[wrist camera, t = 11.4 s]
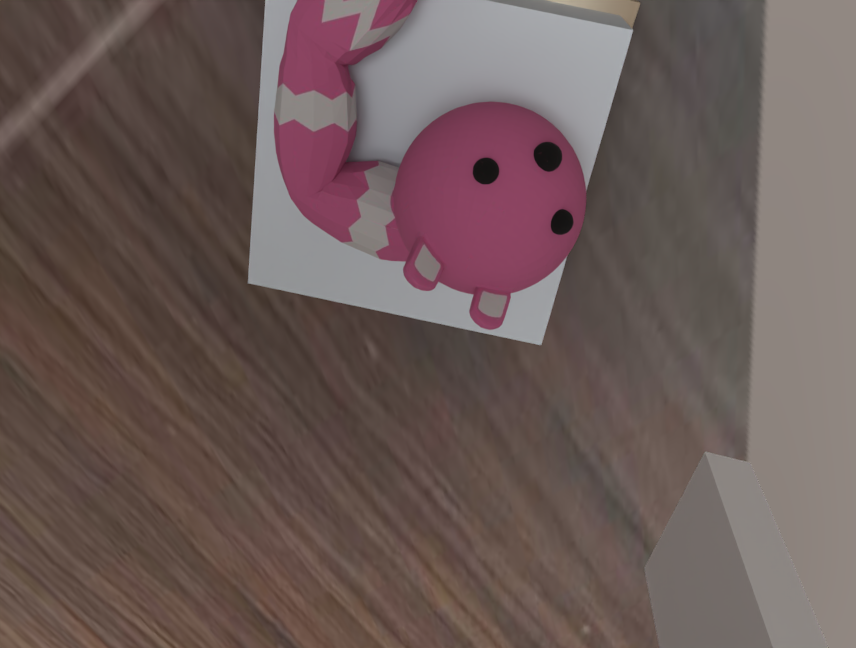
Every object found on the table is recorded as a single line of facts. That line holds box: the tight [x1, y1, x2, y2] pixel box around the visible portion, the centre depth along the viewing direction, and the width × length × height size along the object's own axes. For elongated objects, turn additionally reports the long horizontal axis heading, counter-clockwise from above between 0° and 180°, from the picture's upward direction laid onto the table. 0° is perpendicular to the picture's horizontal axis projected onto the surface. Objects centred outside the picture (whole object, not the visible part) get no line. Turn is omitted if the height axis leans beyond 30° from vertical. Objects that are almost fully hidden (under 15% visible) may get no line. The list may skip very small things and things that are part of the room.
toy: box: [274, 0, 586, 330], centre depth 24 cm, size 11×9×10 cm
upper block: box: [248, 0, 633, 345], centre depth 29 cm, size 12×12×4 cm
